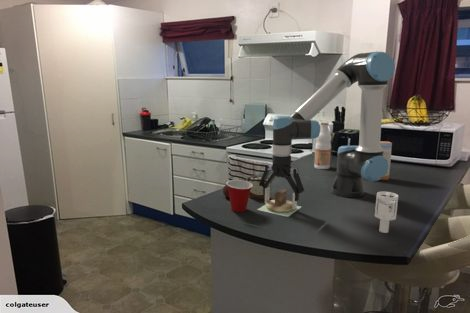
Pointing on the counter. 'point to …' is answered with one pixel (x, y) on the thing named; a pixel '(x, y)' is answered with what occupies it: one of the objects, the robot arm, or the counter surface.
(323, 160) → the fruit juice
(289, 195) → the counter surface
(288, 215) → the mat
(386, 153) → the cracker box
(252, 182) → the food container
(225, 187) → the potato
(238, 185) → the plastic cup
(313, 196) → the counter surface
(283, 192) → the lid
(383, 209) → the white stepped cylinder
